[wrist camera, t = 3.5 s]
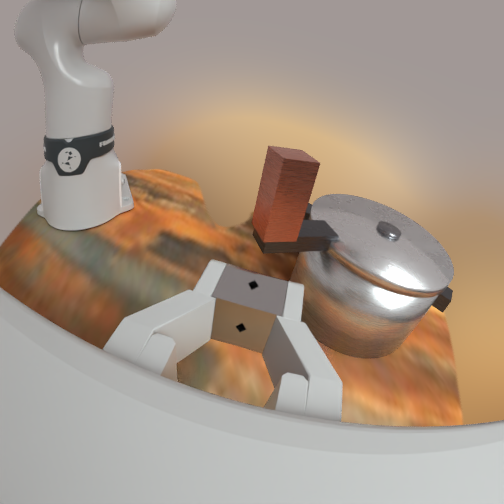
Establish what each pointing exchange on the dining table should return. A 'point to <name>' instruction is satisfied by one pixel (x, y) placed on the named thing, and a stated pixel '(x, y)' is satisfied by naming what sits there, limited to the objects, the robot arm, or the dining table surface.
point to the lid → (345, 229)
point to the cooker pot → (356, 307)
